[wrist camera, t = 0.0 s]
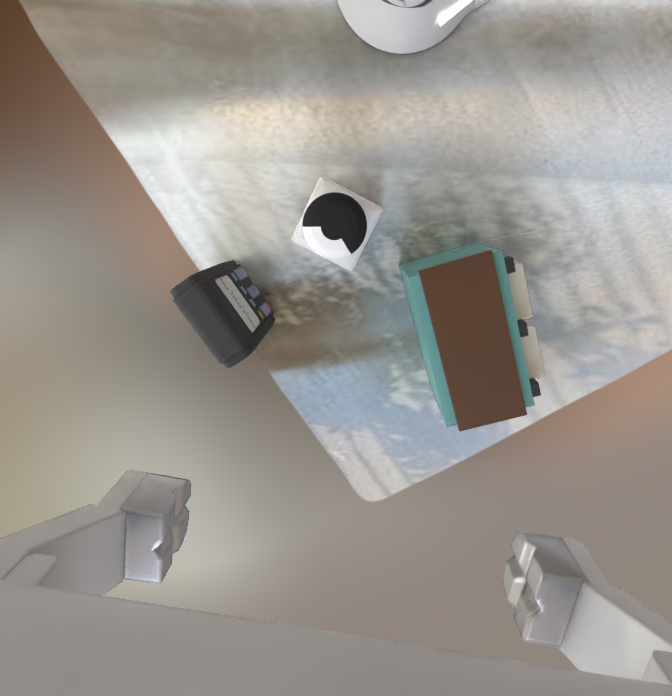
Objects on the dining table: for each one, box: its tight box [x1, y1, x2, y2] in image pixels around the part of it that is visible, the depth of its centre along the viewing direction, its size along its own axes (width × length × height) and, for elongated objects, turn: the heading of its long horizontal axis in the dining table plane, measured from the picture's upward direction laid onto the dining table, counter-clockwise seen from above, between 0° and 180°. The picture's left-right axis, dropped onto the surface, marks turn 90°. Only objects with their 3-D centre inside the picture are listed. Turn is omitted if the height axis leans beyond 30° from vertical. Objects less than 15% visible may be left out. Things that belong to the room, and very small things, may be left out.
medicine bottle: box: [292, 176, 383, 271], centre depth 51 cm, size 7×7×12 cm
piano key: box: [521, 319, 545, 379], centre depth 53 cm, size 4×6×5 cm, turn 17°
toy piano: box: [399, 242, 541, 431], centre depth 53 cm, size 10×17×12 cm, turn 17°
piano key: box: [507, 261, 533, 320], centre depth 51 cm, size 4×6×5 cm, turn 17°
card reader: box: [171, 260, 275, 368], centre depth 52 cm, size 9×4×15 cm, turn 33°
